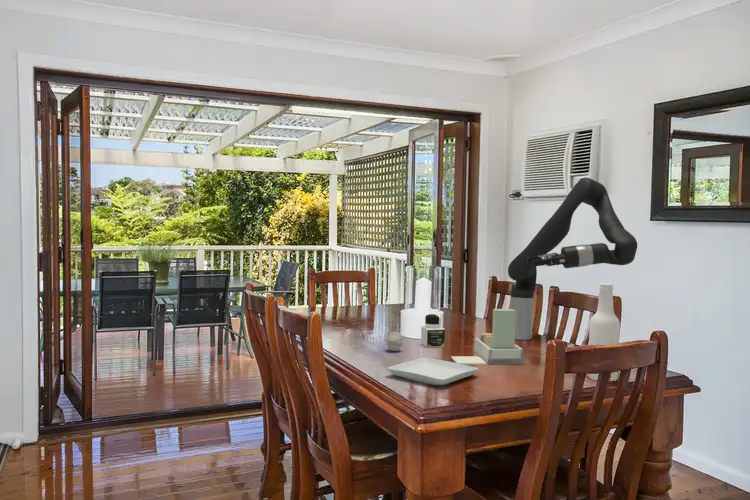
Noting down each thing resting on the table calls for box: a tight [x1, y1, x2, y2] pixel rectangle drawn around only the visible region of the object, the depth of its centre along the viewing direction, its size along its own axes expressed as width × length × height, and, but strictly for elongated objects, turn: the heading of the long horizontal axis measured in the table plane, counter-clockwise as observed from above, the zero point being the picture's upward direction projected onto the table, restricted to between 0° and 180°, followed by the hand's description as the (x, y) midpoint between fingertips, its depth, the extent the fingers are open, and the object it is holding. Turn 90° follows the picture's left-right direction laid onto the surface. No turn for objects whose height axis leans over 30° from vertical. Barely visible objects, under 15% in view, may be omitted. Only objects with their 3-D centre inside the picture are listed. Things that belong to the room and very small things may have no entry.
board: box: [491, 308, 516, 349], centre depth 209 cm, size 4×7×16 cm, turn 95°
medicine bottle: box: [420, 313, 446, 349], centre depth 234 cm, size 7×7×12 cm
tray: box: [474, 337, 525, 365], centre depth 216 cm, size 20×12×5 cm, turn 5°
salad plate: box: [386, 357, 480, 387], centre depth 188 cm, size 21×21×3 cm
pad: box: [450, 355, 488, 366], centre depth 209 cm, size 10×10×1 cm
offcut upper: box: [479, 332, 492, 343], centre depth 222 cm, size 6×8×2 cm
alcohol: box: [587, 282, 621, 382], centre depth 188 cm, size 9×9×30 cm
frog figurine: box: [386, 331, 404, 352], centre depth 223 cm, size 6×7×7 cm
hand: (530, 262), depth 211 cm, fingers open, 8 cm apart
